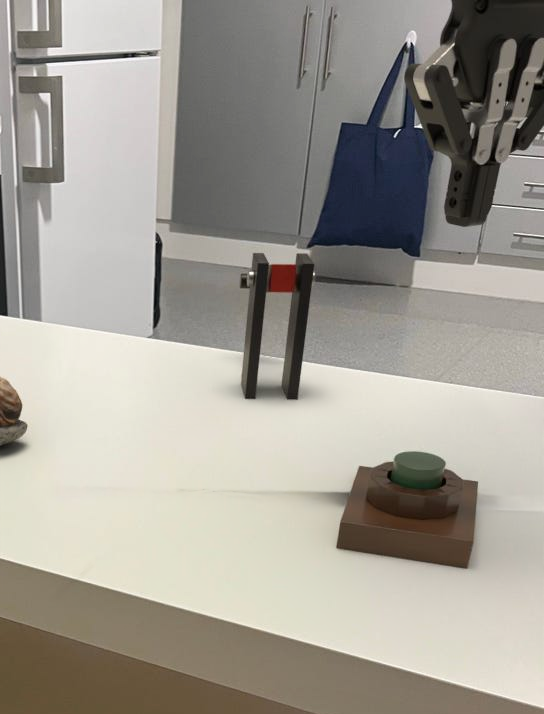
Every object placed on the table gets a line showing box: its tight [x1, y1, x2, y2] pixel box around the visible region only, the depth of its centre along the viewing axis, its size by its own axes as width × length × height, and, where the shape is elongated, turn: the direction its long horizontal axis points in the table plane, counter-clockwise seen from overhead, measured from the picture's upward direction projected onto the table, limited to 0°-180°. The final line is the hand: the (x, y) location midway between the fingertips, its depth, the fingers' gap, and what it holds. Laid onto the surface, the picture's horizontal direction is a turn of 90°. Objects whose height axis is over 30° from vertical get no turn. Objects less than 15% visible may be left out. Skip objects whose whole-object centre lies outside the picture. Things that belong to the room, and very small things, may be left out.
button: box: [390, 450, 447, 490], centre depth 74 cm, size 4×4×2 cm
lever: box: [239, 263, 296, 294], centre depth 98 cm, size 13×5×2 cm, turn 177°
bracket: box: [240, 252, 316, 401], centre depth 96 cm, size 10×8×14 cm
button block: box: [335, 461, 479, 570], centre depth 75 cm, size 11×9×4 cm
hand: (464, 223), depth 67 cm, fingers closed
